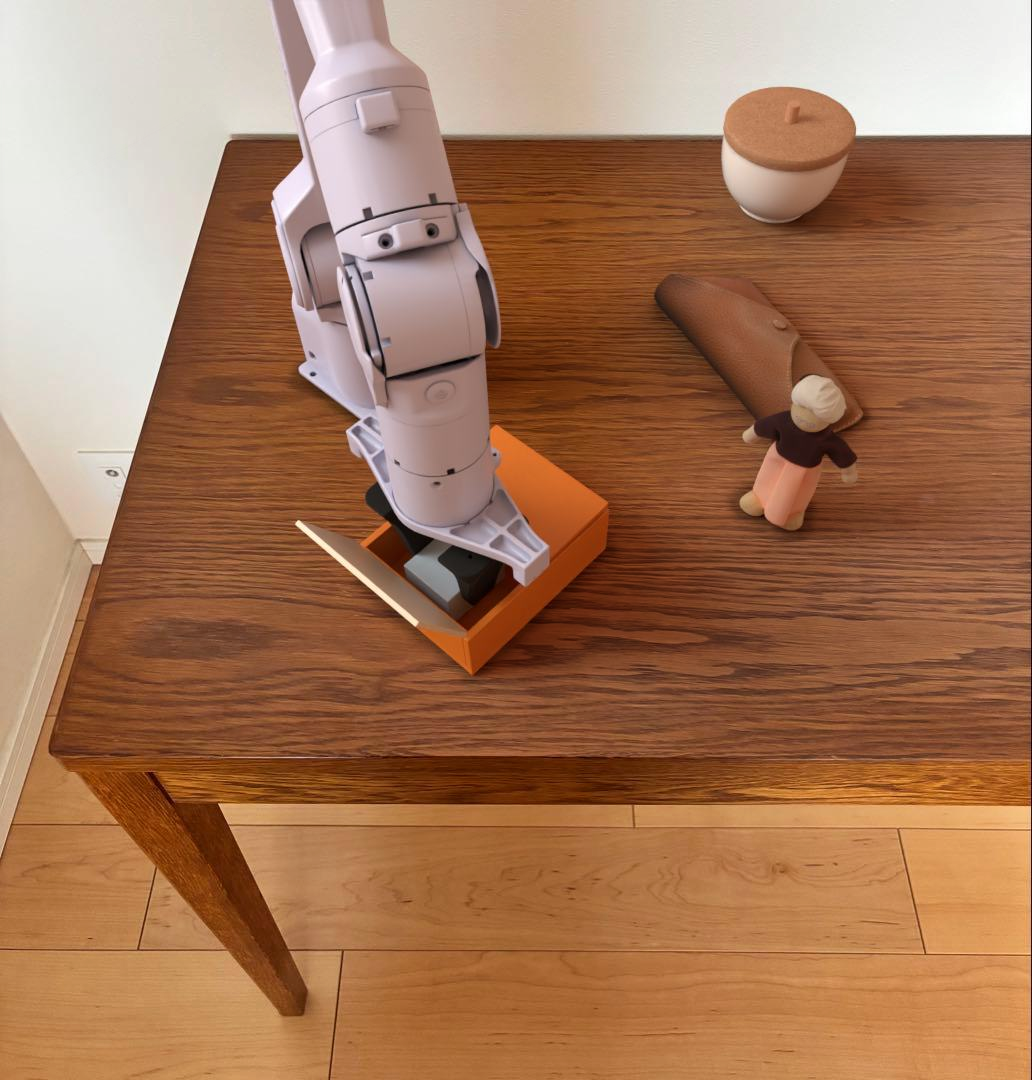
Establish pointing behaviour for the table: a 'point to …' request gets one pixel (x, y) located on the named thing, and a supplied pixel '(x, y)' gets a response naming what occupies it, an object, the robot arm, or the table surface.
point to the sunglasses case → (747, 342)
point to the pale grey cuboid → (439, 579)
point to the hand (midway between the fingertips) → (455, 573)
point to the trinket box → (784, 151)
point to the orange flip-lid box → (556, 517)
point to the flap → (382, 581)
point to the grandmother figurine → (798, 453)
